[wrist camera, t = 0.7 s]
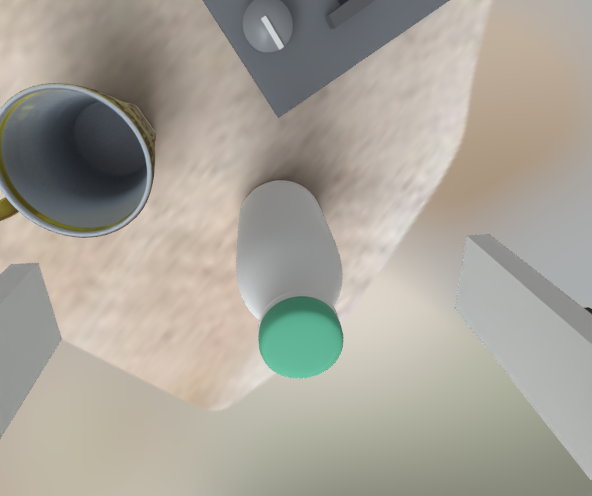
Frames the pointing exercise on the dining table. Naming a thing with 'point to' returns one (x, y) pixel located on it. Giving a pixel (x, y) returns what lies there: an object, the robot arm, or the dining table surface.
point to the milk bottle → (290, 278)
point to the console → (310, 39)
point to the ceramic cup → (74, 159)
